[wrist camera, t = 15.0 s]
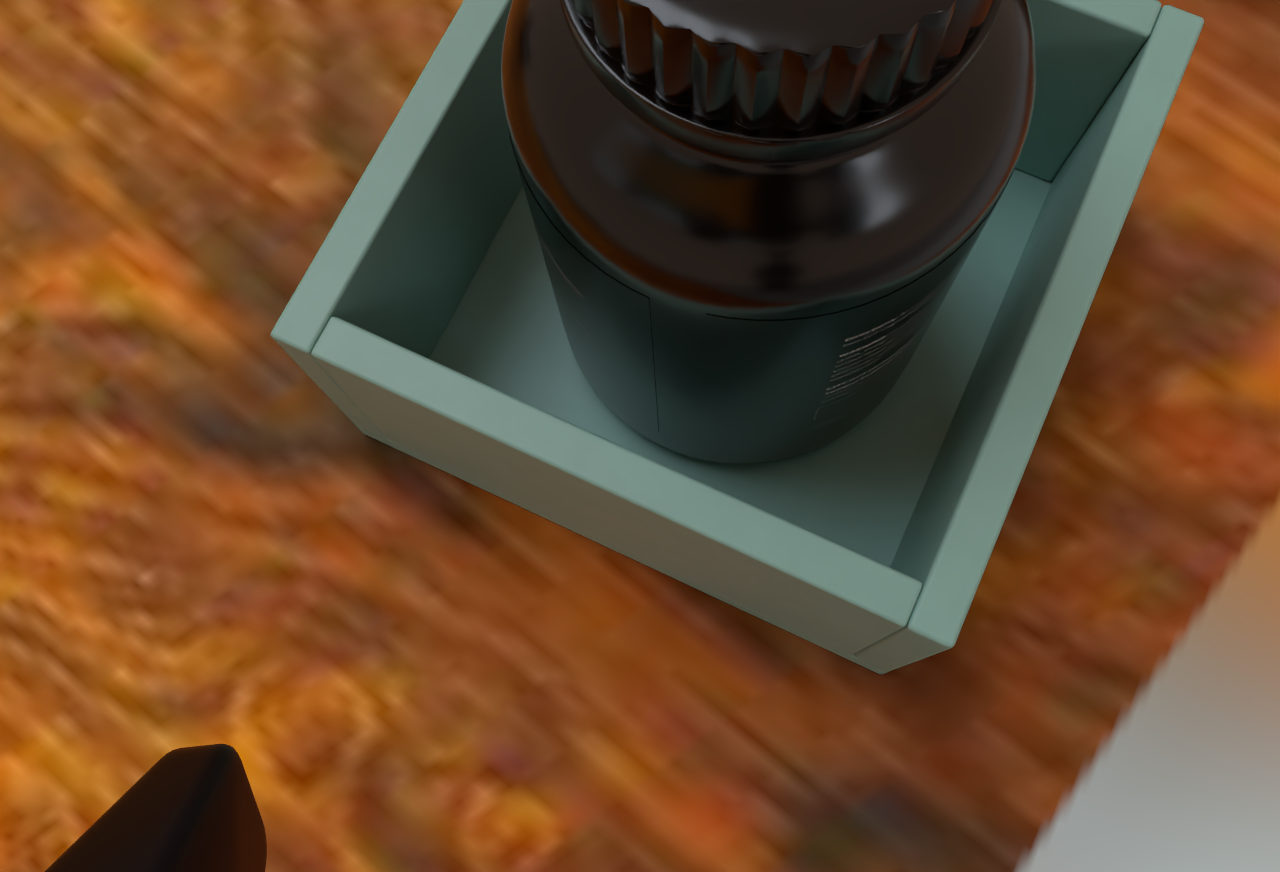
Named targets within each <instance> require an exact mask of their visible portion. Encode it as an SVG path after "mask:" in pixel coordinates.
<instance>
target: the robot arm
mask: <svg viewBox="0 0 1280 872" xmlns="http://www.w3.org/2000/svg"><path fill="white" fill-rule="evenodd" d="M266 857H267V843H266V834H265V828H264V824H263V821H262V818H261V815H260V812H259V810H258V807H257V804H256V801H255V798H254V795H253V792H252V790H251V787H250V784H249V781H248V778H247V775H246V773H245V770H244V767H243V764H242V761H241V759H240V757H239V755H238V753H237V752H236V751H235V749H234V748H233V747H231V746H229V745H226V744H214V745H205V746H195V747H186V748H179V749H176V750H172V751H171V752H169V753H167V754H166V755H165V756H164V757H162V758H161V759H160V760H159V761H158V762H157V763H156V764H155V765H154V766H153V767H152V768H151V769H150V770H149V771H148V772H147V773H146V774H145V775H144V776H142V777H141V778H140V779H139V780H138V781H137V782H136V783H135V784H134V785H133V786H132V787H131V788H130V789H129V790H128V791H127V792H126V793H125V794H124V795H123V796H122V797H121V798H120V799H119V800H118V801H117V802H116V803H115V804H114V805H113V806H112V807H111V808H110V809H109V810H107V811H106V812H105V813H104V814H103V815H102V816H101V817H100V818H99V819H98V820H97V821H96V822H95V823H94V824H93V825H92V826H91V827H90V828H89V829H88V830H87V831H86V832H85V833H84V834H83V835H82V836H81V837H80V838H79V839H78V840H77V841H76V842H75V843H74V844H72V845H71V846H70V847H69V848H68V849H67V850H66V851H65V852H64V853H63V854H62V855H61V856H60V857H59V858H58V859H57V860H56V861H55V862H54V863H53V864H52V865H51V866H50V867H49V868H48V869H47V870H46V871H45V872H265V867H266Z"/></svg>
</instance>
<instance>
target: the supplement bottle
mask: <svg viewBox="0 0 1280 872" xmlns="http://www.w3.org/2000/svg"><path fill="white" fill-rule="evenodd" d="M501 82H502V96H503V103H504V109H505V115H506V120H507V126H508V131H509V137H510V141H511V145H512V148H513V152H514V155H515V159H516V162H517V166H518V169H519V173H520V176H521V180H522V183H523V187H524V190H525V194H526V197H527V201H528V204H529V208H530V211H531V215H532V218H533V222H534V225H535V229H536V232H537V236H538V239H539V243H540V246H541V250H542V253H543V257H544V260H545V264H546V267H547V271H548V274H549V278H550V281H551V285H552V288H553V292H554V295H555V299H556V302H557V306H558V309H559V313H560V316H561V319H562V323H563V326H564V330H565V332H566V335H567V338H568V341H569V344H570V347H571V349H572V351H573V354H574V356H575V359H576V361H577V363H578V365H579V367H580V369H581V370H582V372H583V374H584V376H585V378H586V379H587V381H588V382H589V384H590V385H591V387H592V388H593V390H594V391H595V393H596V394H597V395H598V396H599V398H600V399H601V400H602V401H603V402H604V404H605V405H606V406H607V407H608V408H609V409H610V410H611V411H612V412H613V413H614V414H615V415H616V416H617V417H618V418H619V419H620V420H622V421H623V422H624V423H625V424H627V425H628V426H629V427H630V428H632V429H633V430H635V431H636V432H638V433H639V434H641V435H642V436H644V437H645V438H647V439H649V440H650V441H652V442H654V443H656V444H658V445H660V446H662V447H664V448H667V449H669V450H672V451H674V452H677V453H679V454H682V455H686V456H689V457H692V458H696V459H700V460H705V461H710V462H716V463H726V464H759V463H769V462H774V461H780V460H785V459H789V458H792V457H796V456H799V455H803V454H806V453H808V452H811V451H813V450H816V449H818V448H820V447H823V446H824V445H826V444H828V443H830V442H832V441H834V440H836V439H838V438H839V437H841V436H842V435H844V434H845V433H847V432H848V431H850V430H851V429H853V428H854V427H855V426H856V425H858V424H859V423H860V422H861V421H863V420H864V419H865V418H866V417H867V416H868V415H869V414H870V413H871V412H872V411H873V410H874V409H875V408H876V407H877V406H878V405H879V404H880V403H881V402H882V400H883V399H884V398H885V397H886V396H887V394H888V393H889V392H890V391H891V389H892V388H893V386H894V385H895V383H896V382H897V380H898V379H899V377H900V376H901V374H902V373H903V371H904V369H905V368H906V366H907V364H908V363H909V361H910V360H911V358H912V356H913V354H914V353H915V351H916V349H917V347H918V346H919V344H920V342H921V340H922V338H923V337H924V335H925V333H926V331H927V329H928V328H929V326H930V324H931V322H932V320H933V319H934V317H935V315H936V313H937V311H938V310H939V308H940V306H941V304H942V302H943V301H944V299H945V297H946V295H947V293H948V292H949V290H950V288H951V286H952V284H953V283H954V281H955V279H956V277H957V275H958V274H959V272H960V270H961V268H962V266H963V265H964V263H965V261H966V259H967V257H968V256H969V254H970V252H971V250H972V248H973V247H974V245H975V243H976V241H977V239H978V238H979V236H980V234H981V232H982V230H983V229H984V227H985V225H986V223H987V221H988V219H989V218H990V216H991V214H992V212H993V210H994V209H995V207H996V205H997V203H998V201H999V199H1000V197H1001V195H1002V193H1003V192H1004V190H1005V188H1006V186H1007V184H1008V182H1009V180H1010V178H1011V176H1012V174H1013V171H1014V169H1015V167H1016V164H1017V161H1018V159H1019V156H1020V154H1021V151H1022V148H1023V146H1024V143H1025V140H1026V138H1027V135H1028V131H1029V127H1030V123H1031V119H1032V115H1033V110H1034V103H1035V96H1036V88H1037V51H1036V40H1035V33H1034V28H1033V24H1032V19H1031V14H1030V9H1029V6H1028V3H1027V0H512V4H511V7H510V11H509V15H508V18H507V22H506V28H505V34H504V41H503V47H502V61H501Z"/></svg>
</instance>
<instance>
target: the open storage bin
mask: <svg viewBox="0 0 1280 872" xmlns="http://www.w3.org/2000/svg"><path fill="white" fill-rule="evenodd" d="M1027 3H1028V6H1029V9H1030V14H1031V19H1032V24H1033V28H1034V33H1035V40H1036V51H1037V88H1036V96H1035V103H1034V110H1033V115H1032V119H1031V123H1030V127H1029V131H1028V135H1027V138H1026V140H1025V143H1024V146H1023V148H1022V151H1021V154H1020V156H1019V159H1018V161H1017V164H1016V167H1015V169H1014V171H1013V174H1012V176H1011V178H1010V180H1009V182H1008V184H1007V186H1006V188H1005V190H1004V192H1003V193H1002V195H1001V197H1000V199H999V201H998V203H997V205H996V207H995V209H994V210H993V212H992V214H991V216H990V218H989V219H988V221H987V223H986V225H985V227H984V229H983V230H982V232H981V234H980V236H979V238H978V239H977V241H976V243H975V245H974V247H973V248H972V250H971V252H970V254H969V256H968V257H967V259H966V261H965V263H964V265H963V266H962V268H961V270H960V272H959V274H958V275H957V277H956V279H955V281H954V283H953V284H952V286H951V288H950V290H949V292H948V293H947V295H946V297H945V299H944V301H943V302H942V304H941V306H940V308H939V310H938V311H937V313H936V315H935V317H934V319H933V320H932V322H931V324H930V326H929V328H928V329H927V331H926V333H925V335H924V337H923V338H922V340H921V342H920V344H919V346H918V347H917V349H916V351H915V353H914V354H913V356H912V358H911V360H910V361H909V363H908V364H907V366H906V368H905V369H904V371H903V373H902V374H901V376H900V377H899V379H898V380H897V382H896V383H895V385H894V386H893V388H892V389H891V391H890V392H889V393H888V394H887V396H886V397H885V398H884V399H883V400H882V402H881V403H880V404H879V405H878V406H877V407H876V408H875V409H874V410H873V411H872V412H871V413H870V414H869V415H868V416H867V417H866V418H865V419H864V420H863V421H861V422H860V423H859V424H858V425H856V426H855V427H854V428H853V429H851V430H850V431H848V432H847V433H845V434H844V435H842V436H841V437H839V438H838V439H836V440H834V441H832V442H830V443H828V444H826V445H824V446H823V447H820V448H818V449H816V450H813V451H811V452H808V453H806V454H803V455H799V456H796V457H792V458H789V459H785V460H780V461H774V462H769V463H759V464H726V463H716V462H710V461H705V460H700V459H696V458H692V457H689V456H686V455H682V454H679V453H677V452H674V451H672V450H669V449H667V448H664V447H662V446H660V445H658V444H656V443H654V442H652V441H650V440H649V439H647V438H645V437H644V436H642V435H641V434H639V433H638V432H636V431H635V430H633V429H632V428H630V427H629V426H628V425H627V424H625V423H624V422H623V421H622V420H620V419H619V418H618V417H617V416H616V415H615V414H614V413H613V412H612V411H611V410H610V409H609V408H608V407H607V406H606V405H605V404H604V402H603V401H602V400H601V399H600V398H599V396H598V395H597V394H596V393H595V391H594V390H593V388H592V387H591V385H590V384H589V382H588V381H587V379H586V378H585V376H584V374H583V372H582V370H581V369H580V367H579V365H578V363H577V361H576V359H575V356H574V354H573V351H572V349H571V347H570V344H569V341H568V338H567V335H566V332H565V330H564V326H563V323H562V319H561V316H560V313H559V309H558V306H557V302H556V299H555V295H554V292H553V288H552V285H551V281H550V278H549V274H548V271H547V267H546V264H545V260H544V257H543V253H542V250H541V246H540V243H539V239H538V236H537V232H536V229H535V225H534V222H533V218H532V215H531V211H530V208H529V204H528V201H527V197H526V194H525V190H524V187H523V183H522V180H521V176H520V173H519V169H518V166H517V162H516V159H515V155H514V152H513V148H512V145H511V141H510V137H509V131H508V126H507V120H506V115H505V109H504V103H503V96H502V82H501V61H502V47H503V41H504V34H505V28H506V22H507V18H508V15H509V11H510V7H511V4H512V0H464V1H463V3H462V5H461V6H460V8H459V10H458V12H457V13H456V15H455V17H454V19H453V20H452V22H451V24H450V25H449V27H448V29H447V31H446V32H445V34H444V36H443V37H442V39H441V41H440V43H439V44H438V46H437V48H436V49H435V51H434V53H433V55H432V56H431V58H430V60H429V62H428V63H427V65H426V67H425V68H424V70H423V72H422V74H421V75H420V77H419V79H418V80H417V82H416V84H415V86H414V87H413V89H412V91H411V92H410V94H409V96H408V98H407V99H406V101H405V103H404V105H403V106H402V108H401V110H400V111H399V113H398V115H397V117H396V118H395V120H394V122H393V123H392V125H391V127H390V129H389V130H388V132H387V134H386V136H385V137H384V139H383V141H382V142H381V144H380V146H379V148H378V149H377V151H376V153H375V154H374V156H373V158H372V160H371V161H370V163H369V165H368V166H367V168H366V170H365V172H364V173H363V175H362V177H361V179H360V180H359V182H358V184H357V185H356V187H355V189H354V191H353V192H352V194H351V196H350V197H349V199H348V201H347V203H346V204H345V206H344V208H343V209H342V211H341V213H340V215H339V216H338V218H337V220H336V222H335V223H334V225H333V227H332V228H331V230H330V232H329V234H328V235H327V237H326V239H325V240H324V242H323V244H322V246H321V247H320V249H319V251H318V252H317V254H316V256H315V258H314V259H313V261H312V263H311V265H310V266H309V268H308V270H307V271H306V273H305V275H304V277H303V278H302V280H301V282H300V283H299V285H298V287H297V289H296V290H295V292H294V294H293V295H292V297H291V299H290V301H289V302H288V304H287V306H286V308H285V309H284V311H283V313H282V314H281V316H280V318H279V320H278V321H277V323H276V325H275V326H274V328H273V330H272V332H271V337H272V338H273V339H274V340H275V341H276V342H277V343H278V344H279V345H280V346H281V347H282V348H283V350H284V351H285V352H286V353H287V354H288V355H289V356H290V357H291V358H292V359H293V360H294V361H295V362H296V363H297V364H298V365H299V366H300V367H301V368H302V370H303V371H304V372H305V373H306V374H307V375H308V376H309V377H310V378H311V379H312V380H313V381H314V382H315V383H316V384H317V385H318V386H319V387H320V388H321V389H322V391H323V392H324V393H325V394H326V395H327V396H328V397H329V398H330V399H331V400H332V401H333V402H334V403H335V404H336V405H337V406H338V407H339V408H340V409H341V411H342V412H343V413H344V414H345V415H346V416H347V417H348V418H349V419H350V420H351V421H352V422H353V423H354V424H355V425H356V426H357V427H358V428H359V429H360V430H361V431H362V433H363V434H365V435H367V436H369V437H372V438H374V439H376V440H378V441H380V442H382V443H384V444H387V445H389V446H391V447H393V448H395V449H397V450H399V451H402V452H404V453H406V454H408V455H410V456H412V457H415V458H417V459H419V460H421V461H423V462H425V463H427V464H430V465H432V466H434V467H436V468H438V469H440V470H442V471H445V472H447V473H449V474H451V475H453V476H455V477H457V478H460V479H462V480H464V481H466V482H468V483H470V484H472V485H475V486H477V487H479V488H481V489H483V490H485V491H487V492H490V493H492V494H494V495H496V496H498V497H500V498H502V499H505V500H507V501H509V502H511V503H513V504H515V505H517V506H520V507H522V508H524V509H526V510H528V511H530V512H532V513H535V514H537V515H539V516H541V517H543V518H545V519H548V520H550V521H552V522H554V523H556V524H558V525H560V526H563V527H565V528H567V529H569V530H571V531H573V532H575V533H578V534H580V535H582V536H584V537H586V538H588V539H590V540H593V541H595V542H597V543H599V544H601V545H603V546H605V547H608V548H610V549H612V550H614V551H616V552H618V553H620V554H623V555H625V556H627V557H629V558H631V559H633V560H635V561H638V562H640V563H642V564H644V565H646V566H648V567H650V568H653V569H655V570H657V571H659V572H661V573H663V574H666V575H668V576H670V577H672V578H674V579H676V580H678V581H681V582H683V583H685V584H687V585H689V586H691V587H693V588H696V589H698V590H700V591H702V592H704V593H706V594H708V595H711V596H713V597H715V598H717V599H719V600H721V601H723V602H726V603H728V604H730V605H732V606H734V607H736V608H738V609H741V610H743V611H745V612H747V613H749V614H751V615H753V616H756V617H758V618H760V619H762V620H764V621H766V622H768V623H771V624H773V625H775V626H777V627H779V628H781V629H783V630H786V631H788V632H790V633H792V634H794V635H796V636H799V637H801V638H803V639H805V640H807V641H809V642H811V643H814V644H816V645H818V646H820V647H822V648H824V649H826V650H829V651H831V652H833V653H835V654H837V655H839V656H841V657H844V658H846V659H848V660H850V661H852V662H854V663H856V664H859V665H861V666H863V667H865V668H867V669H869V670H871V671H874V672H876V673H878V674H885V673H887V672H889V671H892V670H894V669H897V668H900V667H902V666H905V665H908V664H910V663H913V662H916V661H918V660H921V659H924V658H926V657H929V656H932V655H934V654H937V653H940V652H942V651H945V650H948V649H951V648H952V647H953V646H954V645H955V643H956V640H957V638H958V635H959V633H960V631H961V628H962V626H963V623H964V621H965V618H966V616H967V613H968V611H969V608H970V606H971V603H972V601H973V598H974V596H975V593H976V591H977V588H978V586H979V583H980V581H981V578H982V576H983V573H984V571H985V568H986V566H987V563H988V561H989V558H990V556H991V553H992V551H993V548H994V546H995V543H996V541H997V538H998V536H999V533H1000V531H1001V528H1002V526H1003V523H1004V521H1005V518H1006V516H1007V513H1008V511H1009V508H1010V506H1011V503H1012V501H1013V498H1014V496H1015V493H1016V491H1017V488H1018V486H1019V483H1020V481H1021V478H1022V476H1023V473H1024V471H1025V468H1026V466H1027V463H1028V461H1029V458H1030V456H1031V454H1032V451H1033V449H1034V446H1035V444H1036V441H1037V439H1038V436H1039V434H1040V431H1041V429H1042V426H1043V424H1044V421H1045V419H1046V416H1047V414H1048V411H1049V409H1050V406H1051V404H1052V401H1053V399H1054V396H1055V394H1056V391H1057V389H1058V386H1059V384H1060V381H1061V379H1062V376H1063V374H1064V371H1065V369H1066V366H1067V364H1068V361H1069V359H1070V356H1071V354H1072V351H1073V349H1074V346H1075V344H1076V341H1077V339H1078V336H1079V334H1080V331H1081V329H1082V326H1083V324H1084V321H1085V319H1086V316H1087V314H1088V311H1089V309H1090V306H1091V304H1092V301H1093V299H1094V296H1095V294H1096V291H1097V289H1098V286H1099V284H1100V282H1101V279H1102V277H1103V274H1104V272H1105V269H1106V267H1107V264H1108V262H1109V259H1110V257H1111V254H1112V252H1113V249H1114V247H1115V244H1116V242H1117V239H1118V237H1119V234H1120V232H1121V229H1122V227H1123V224H1124V222H1125V219H1126V217H1127V214H1128V212H1129V209H1130V207H1131V204H1132V202H1133V199H1134V197H1135V194H1136V192H1137V189H1138V187H1139V184H1140V182H1141V179H1142V177H1143V174H1144V172H1145V169H1146V167H1147V164H1148V162H1149V159H1150V157H1151V154H1152V152H1153V149H1154V147H1155V144H1156V142H1157V139H1158V137H1159V134H1160V132H1161V129H1162V127H1163V124H1164V122H1165V119H1166V117H1167V114H1168V112H1169V109H1170V107H1171V105H1172V102H1173V100H1174V97H1175V95H1176V92H1177V90H1178V87H1179V85H1180V82H1181V80H1182V77H1183V75H1184V72H1185V70H1186V67H1187V65H1188V62H1189V60H1190V57H1191V55H1192V52H1193V50H1194V47H1195V45H1196V42H1197V40H1198V37H1199V35H1200V32H1201V30H1202V27H1203V25H1204V19H1203V18H1202V17H1199V16H1197V15H1194V14H1191V13H1189V12H1186V11H1183V10H1181V9H1178V8H1175V7H1173V6H1170V5H1165V6H1164V7H1162V8H1161V3H1160V2H1159V1H1157V0H1027Z"/></svg>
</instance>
